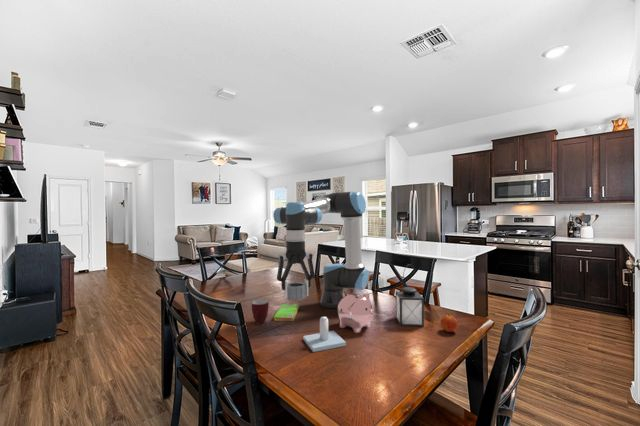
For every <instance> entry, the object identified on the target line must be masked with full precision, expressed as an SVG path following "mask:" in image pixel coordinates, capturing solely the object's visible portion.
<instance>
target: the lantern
mask: <svg viewBox="0 0 640 426" xmlns="http://www.w3.org/2000/svg"><path fill="white" fill-rule="evenodd" d="M408 266H412V267H414V265H413V264H407V265H406V266H405V267H404V268H403V272H402V273H403V274H402V277H404V274H405V270H406V268H407V267H408ZM413 271H414V272H416V270H415V268H413ZM395 318H396V319H397V322H398V324H399V326H400V327H425V298H424V297H423V295H421V294H420V292H419V291H418V290H417V289H416V287H412V286H411V287H410V286H403V287H402V288H401V291H395Z"/></svg>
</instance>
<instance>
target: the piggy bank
mask: <svg viewBox="0 0 640 426" xmlns="http://www.w3.org/2000/svg"><path fill="white" fill-rule="evenodd" d="M342 294H343V298H342V299H341V301H340V302H339V305H338V308H337V314H338V318H339V320H340V323H339V328H341V329H345V328H347V327H349V328H351V329H352V330H353V333H354V334H355V333H356V334H358V333H361V332H362V329H363V328H367V329H368V328H370V327H371V322H372V320H373V318H374V317H375V311H374V306H373V304H372V301H371V299H370V294H369V293H368V292H367V293H365V294H359V293H358V294H357V293H347V294H346V295H344V294H345V292H344V293H342Z"/></svg>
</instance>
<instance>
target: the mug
mask: <svg viewBox="0 0 640 426" xmlns="http://www.w3.org/2000/svg"><path fill="white" fill-rule="evenodd" d="M251 312H252V317H253V319H254V321H255V323H256V324H257V325H259V324H260V325H261V324H264V323H265V322H266V320H267V317H268V312H269V300H267V299H256V300H253V301H251Z"/></svg>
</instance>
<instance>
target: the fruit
mask: <svg viewBox="0 0 640 426" xmlns="http://www.w3.org/2000/svg"><path fill="white" fill-rule="evenodd" d="M440 325H441V326H440V327H441V328H442V329H443V330H444V331H446V332H447V333H454V332H455V331H456V330H457V329H458V320H457V319H456V317H454V316H453V315H450V314H449V313H447V315H444V316H442V317H441V320H440Z"/></svg>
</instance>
